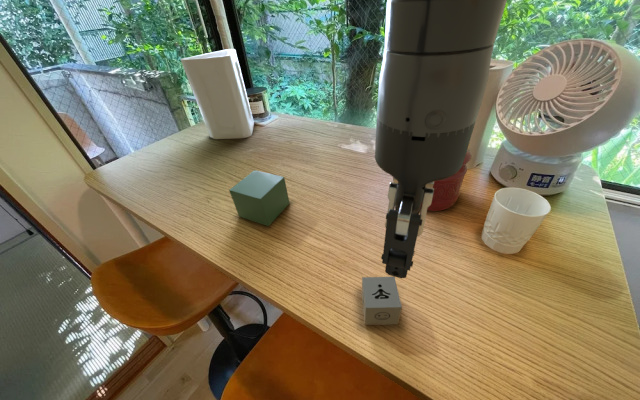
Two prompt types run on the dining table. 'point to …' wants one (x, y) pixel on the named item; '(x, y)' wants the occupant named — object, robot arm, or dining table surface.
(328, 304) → the dining table surface
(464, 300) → the dining table surface
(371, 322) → the dice cube
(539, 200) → the white cup
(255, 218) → the green block
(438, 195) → the kitchen canister
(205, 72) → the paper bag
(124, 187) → the dining table surface
